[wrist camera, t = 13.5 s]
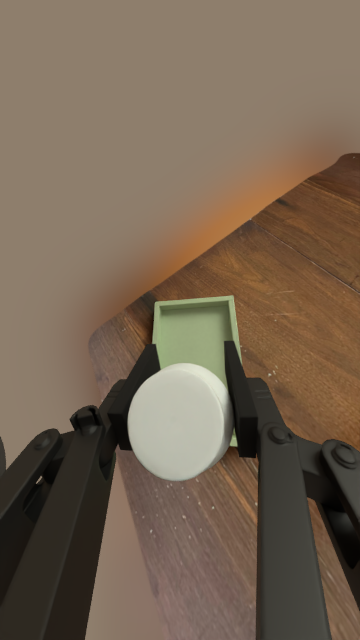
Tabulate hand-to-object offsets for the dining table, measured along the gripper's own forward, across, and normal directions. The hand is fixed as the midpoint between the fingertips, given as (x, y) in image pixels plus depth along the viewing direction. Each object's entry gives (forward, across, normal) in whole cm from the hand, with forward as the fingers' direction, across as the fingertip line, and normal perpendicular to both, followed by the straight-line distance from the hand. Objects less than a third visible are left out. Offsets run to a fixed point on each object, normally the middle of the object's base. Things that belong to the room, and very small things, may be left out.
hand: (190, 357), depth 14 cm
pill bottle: (0, 0, -5) cm, 5 cm away
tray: (+10, -1, -8) cm, 13 cm away
